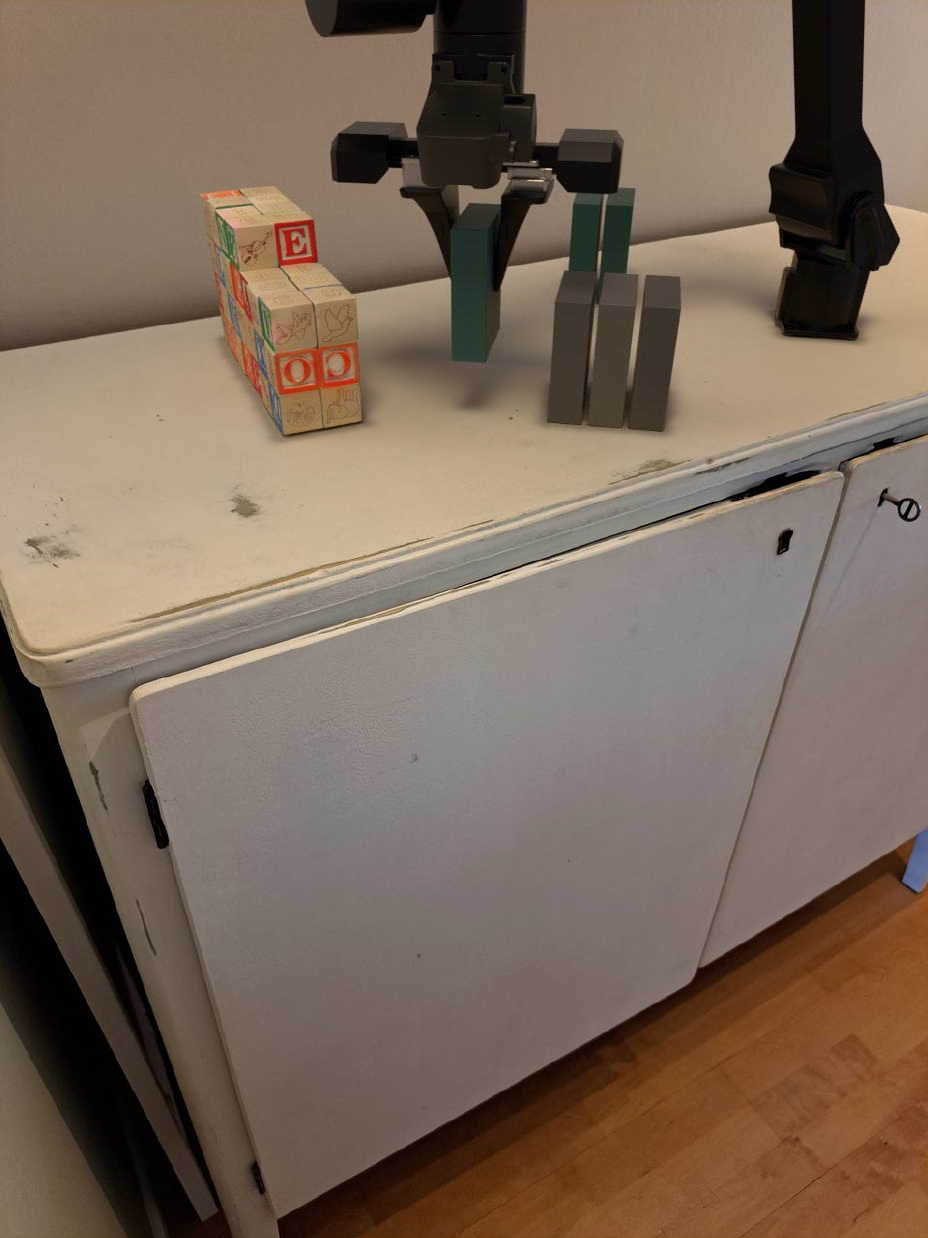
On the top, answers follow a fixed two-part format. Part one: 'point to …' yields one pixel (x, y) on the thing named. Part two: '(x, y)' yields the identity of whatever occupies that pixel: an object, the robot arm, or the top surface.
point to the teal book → (474, 283)
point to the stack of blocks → (283, 309)
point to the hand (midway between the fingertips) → (477, 289)
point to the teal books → (589, 230)
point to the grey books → (613, 349)
